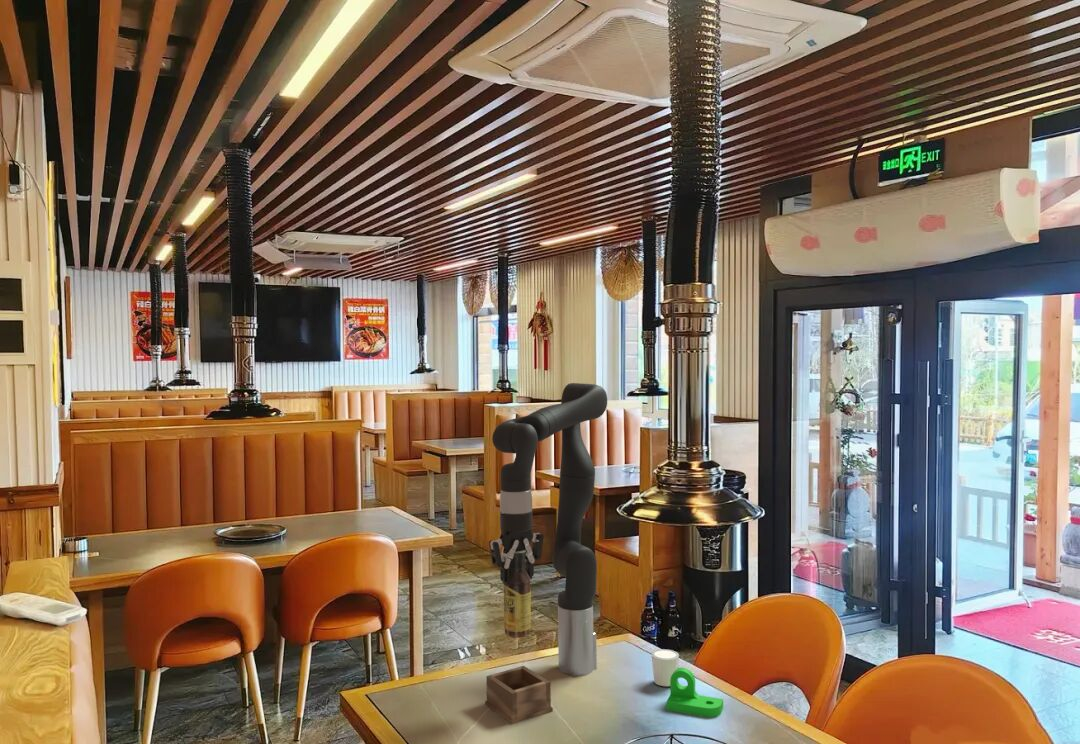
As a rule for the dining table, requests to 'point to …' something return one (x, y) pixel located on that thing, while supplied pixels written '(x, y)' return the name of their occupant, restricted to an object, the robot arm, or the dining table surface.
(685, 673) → the mechanical part
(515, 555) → the sauce bottle
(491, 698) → the bottle caddy
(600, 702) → the dining table surface
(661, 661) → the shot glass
